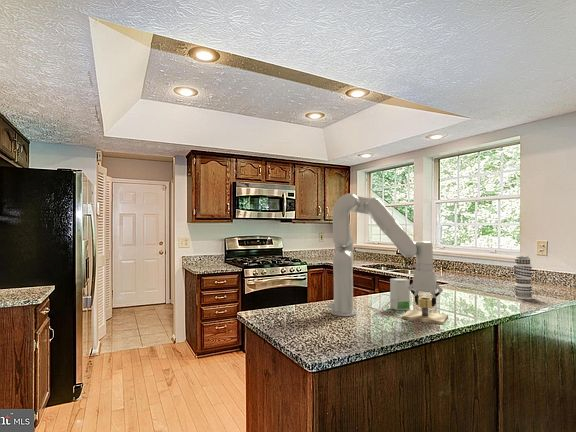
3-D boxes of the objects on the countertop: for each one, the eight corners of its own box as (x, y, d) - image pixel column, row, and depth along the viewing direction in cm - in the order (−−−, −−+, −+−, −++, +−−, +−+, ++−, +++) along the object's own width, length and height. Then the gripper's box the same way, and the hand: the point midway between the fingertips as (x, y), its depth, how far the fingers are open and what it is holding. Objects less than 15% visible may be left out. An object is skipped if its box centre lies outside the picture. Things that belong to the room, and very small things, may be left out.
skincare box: (396, 310, 177) (396, 280, 177) (389, 307, 183) (389, 278, 183) (410, 309, 179) (410, 279, 179) (403, 306, 185) (402, 277, 186)
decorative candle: (517, 298, 204) (516, 256, 204) (512, 295, 212) (511, 255, 213) (535, 299, 201) (534, 257, 202) (529, 296, 210) (528, 255, 210)
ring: (416, 306, 162) (416, 299, 162) (419, 304, 167) (419, 296, 167) (431, 308, 158) (431, 300, 158) (434, 305, 164) (434, 298, 164)
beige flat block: (401, 318, 162) (401, 305, 162) (409, 312, 173) (409, 299, 174) (443, 324, 152) (442, 310, 152) (448, 317, 164) (448, 304, 164)
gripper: (403, 267, 165) (404, 304, 164) (442, 269, 155) (443, 309, 155) (407, 265, 171) (408, 301, 171) (445, 267, 162) (446, 305, 161)
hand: (425, 304), depth 163 cm, fingers closed on ring, 6 cm apart
